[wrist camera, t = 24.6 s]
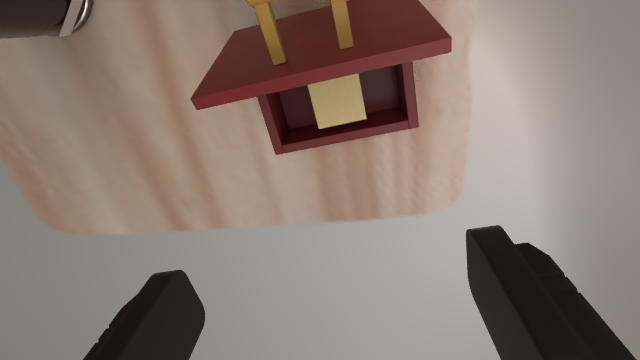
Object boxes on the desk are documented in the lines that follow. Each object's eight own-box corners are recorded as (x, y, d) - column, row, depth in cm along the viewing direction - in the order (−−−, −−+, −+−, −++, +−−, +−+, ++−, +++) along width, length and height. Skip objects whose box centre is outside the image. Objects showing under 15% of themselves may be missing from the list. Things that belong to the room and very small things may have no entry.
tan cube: (364, 106, 31) (366, 119, 28) (321, 115, 32) (318, 129, 28) (355, 61, 29) (357, 68, 26) (310, 72, 30) (306, 80, 26)
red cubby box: (408, 110, 32) (419, 127, 27) (285, 135, 34) (275, 155, 29) (394, -6, 28) (405, -9, 23) (254, 31, 30) (237, 35, 25)
